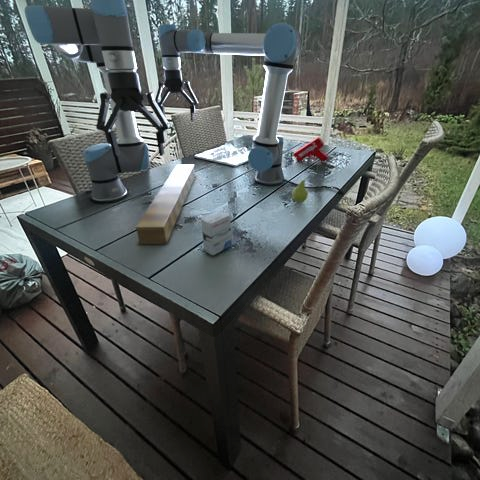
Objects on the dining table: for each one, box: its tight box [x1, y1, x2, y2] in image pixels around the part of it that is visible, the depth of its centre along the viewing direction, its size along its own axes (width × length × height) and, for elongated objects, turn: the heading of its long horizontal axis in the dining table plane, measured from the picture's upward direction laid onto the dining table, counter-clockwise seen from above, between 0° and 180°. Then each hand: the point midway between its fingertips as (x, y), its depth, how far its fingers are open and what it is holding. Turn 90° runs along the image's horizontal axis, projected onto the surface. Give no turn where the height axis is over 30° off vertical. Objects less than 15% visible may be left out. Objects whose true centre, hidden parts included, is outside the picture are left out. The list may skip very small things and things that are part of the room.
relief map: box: [194, 142, 250, 167], centre depth 181 cm, size 27×35×5 cm
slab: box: [135, 164, 196, 245], centre depth 121 cm, size 68×9×7 cm, turn 0°
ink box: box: [200, 210, 232, 257], centre depth 88 cm, size 8×5×12 cm, turn 135°
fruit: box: [291, 174, 311, 204], centre depth 118 cm, size 7×8×12 cm
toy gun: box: [293, 136, 329, 164], centre depth 170 cm, size 18×4×15 cm
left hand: (139, 154), depth 81 cm, fingers open, 13 cm apart
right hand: (178, 120), depth 132 cm, fingers open, 13 cm apart
